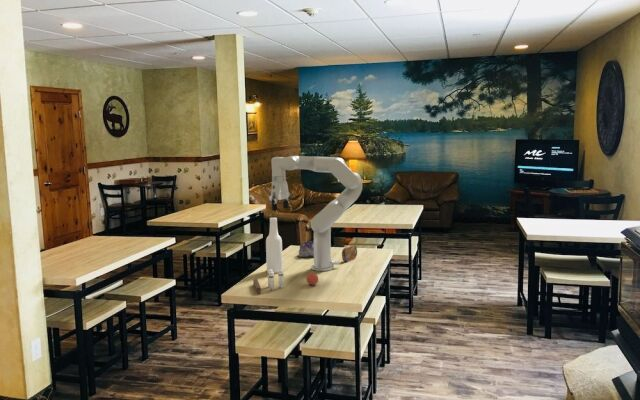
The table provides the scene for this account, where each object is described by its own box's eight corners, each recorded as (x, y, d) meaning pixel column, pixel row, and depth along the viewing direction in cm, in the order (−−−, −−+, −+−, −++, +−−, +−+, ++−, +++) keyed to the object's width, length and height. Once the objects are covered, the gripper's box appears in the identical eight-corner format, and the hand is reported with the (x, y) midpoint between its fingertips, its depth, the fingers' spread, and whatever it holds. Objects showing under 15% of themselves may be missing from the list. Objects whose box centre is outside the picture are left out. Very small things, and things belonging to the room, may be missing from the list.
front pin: (283, 286, 268) (282, 269, 267) (284, 287, 266) (283, 271, 264) (278, 286, 267) (277, 270, 266) (279, 288, 265) (278, 271, 264)
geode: (305, 250, 347) (307, 235, 345) (322, 254, 344) (324, 239, 342) (295, 256, 327) (297, 241, 326) (312, 260, 324) (315, 244, 323)
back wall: (257, 284, 272) (257, 278, 271) (260, 293, 256) (260, 287, 256) (253, 284, 271) (253, 279, 271) (256, 294, 256) (256, 288, 256)
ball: (317, 282, 273) (316, 271, 273) (319, 286, 268) (319, 274, 267) (305, 283, 272) (305, 272, 271) (307, 286, 266) (307, 275, 266)
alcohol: (280, 273, 292) (278, 219, 288) (264, 273, 293) (263, 219, 289) (284, 269, 300) (283, 216, 296) (269, 269, 302) (267, 216, 298)
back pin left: (274, 288, 264) (273, 271, 263) (274, 290, 262) (274, 273, 261) (269, 288, 264) (268, 272, 263) (269, 290, 262) (269, 273, 260)
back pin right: (272, 285, 269) (272, 269, 268) (273, 287, 267) (272, 270, 266) (267, 286, 269) (267, 269, 268) (268, 287, 266) (267, 270, 265)
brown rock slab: (345, 263, 313) (345, 249, 312) (340, 262, 315) (340, 248, 314) (357, 257, 326) (357, 244, 325) (353, 257, 328) (353, 243, 326)
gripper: (273, 180, 289) (275, 212, 292) (293, 177, 303) (295, 207, 305) (263, 180, 294) (265, 211, 296) (283, 177, 308) (285, 207, 310)
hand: (280, 209), depth 301 cm, fingers open, 9 cm apart
